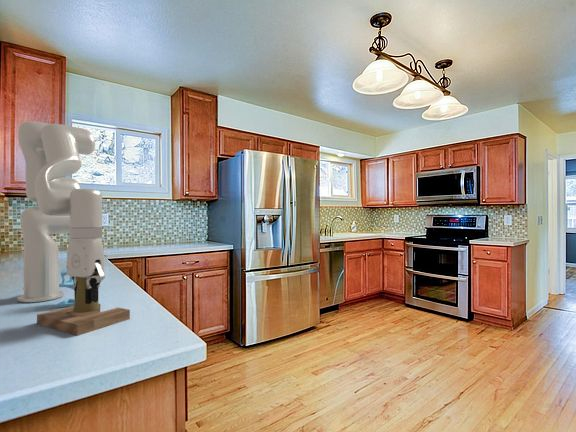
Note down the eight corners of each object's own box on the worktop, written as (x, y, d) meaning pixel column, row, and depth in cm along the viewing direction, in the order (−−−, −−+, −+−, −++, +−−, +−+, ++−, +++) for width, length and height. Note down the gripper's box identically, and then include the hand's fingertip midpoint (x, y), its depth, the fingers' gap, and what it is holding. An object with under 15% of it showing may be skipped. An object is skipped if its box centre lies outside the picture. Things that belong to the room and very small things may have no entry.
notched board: (36, 323, 85) (36, 314, 85) (89, 310, 98) (89, 301, 98) (77, 335, 77) (77, 325, 77) (129, 318, 89) (129, 309, 89)
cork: (87, 313, 84) (87, 271, 84) (67, 312, 85) (67, 270, 85) (104, 306, 90) (104, 267, 90) (86, 305, 91) (86, 266, 91)
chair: (83, 307, 101) (84, 268, 101) (54, 307, 100) (54, 269, 100) (94, 300, 109) (94, 265, 109) (67, 301, 107) (67, 265, 108)
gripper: (53, 234, 88) (53, 301, 88) (91, 235, 81) (91, 309, 80) (81, 233, 95) (82, 295, 95) (119, 234, 87) (119, 302, 87)
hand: (86, 300), depth 88 cm, fingers closed on cork, 4 cm apart
